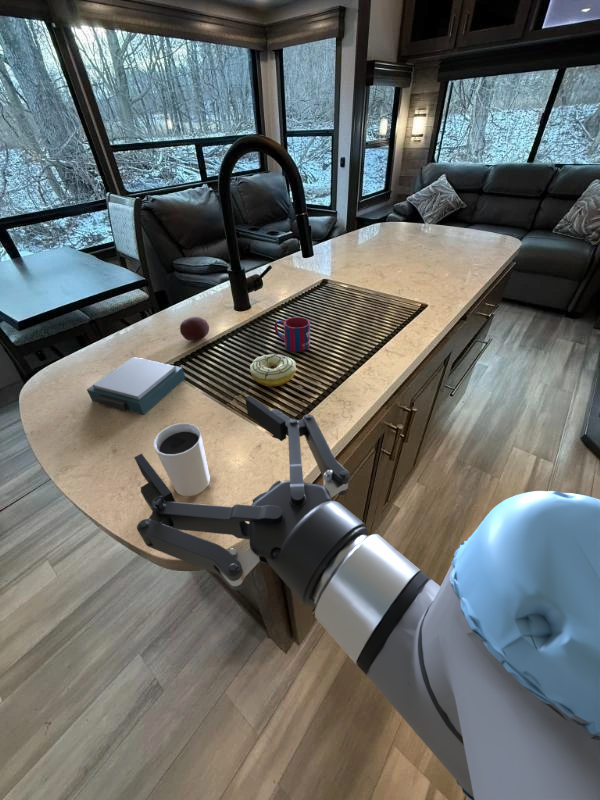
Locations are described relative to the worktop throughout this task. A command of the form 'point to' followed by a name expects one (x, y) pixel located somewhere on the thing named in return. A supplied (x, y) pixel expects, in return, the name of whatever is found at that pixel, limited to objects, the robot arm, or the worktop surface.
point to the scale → (136, 385)
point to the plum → (194, 328)
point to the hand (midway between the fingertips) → (200, 431)
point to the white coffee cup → (183, 458)
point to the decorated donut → (273, 369)
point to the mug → (295, 333)
